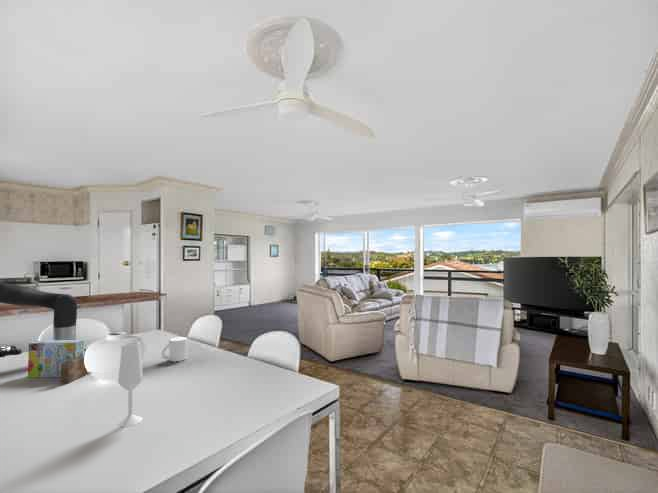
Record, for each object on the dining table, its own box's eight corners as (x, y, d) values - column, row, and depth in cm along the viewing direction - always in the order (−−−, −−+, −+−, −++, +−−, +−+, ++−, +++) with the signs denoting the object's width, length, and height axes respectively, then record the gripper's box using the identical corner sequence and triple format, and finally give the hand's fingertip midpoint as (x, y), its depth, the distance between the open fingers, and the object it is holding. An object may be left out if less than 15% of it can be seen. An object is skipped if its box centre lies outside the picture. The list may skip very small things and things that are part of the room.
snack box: (84, 373, 153) (84, 339, 153) (74, 377, 147) (74, 342, 148) (38, 373, 154) (38, 339, 154) (26, 378, 148) (27, 342, 148)
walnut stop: (87, 371, 155) (87, 347, 155) (94, 371, 155) (94, 347, 155) (60, 383, 140) (61, 356, 140) (68, 383, 140) (68, 356, 140)
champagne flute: (137, 414, 111) (137, 340, 112) (146, 420, 107) (146, 343, 108) (114, 422, 106) (114, 344, 107) (122, 428, 102) (123, 347, 103)
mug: (189, 338, 173) (165, 343, 164) (189, 359, 172) (165, 364, 164) (182, 336, 178) (158, 340, 170) (182, 356, 178) (158, 361, 169)
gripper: (-35, 348, 144) (5, 347, 143) (-4, 340, 157) (33, 339, 156) (-35, 366, 144) (5, 365, 143) (-4, 356, 157) (33, 355, 156)
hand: (20, 351), depth 150 cm, fingers closed
